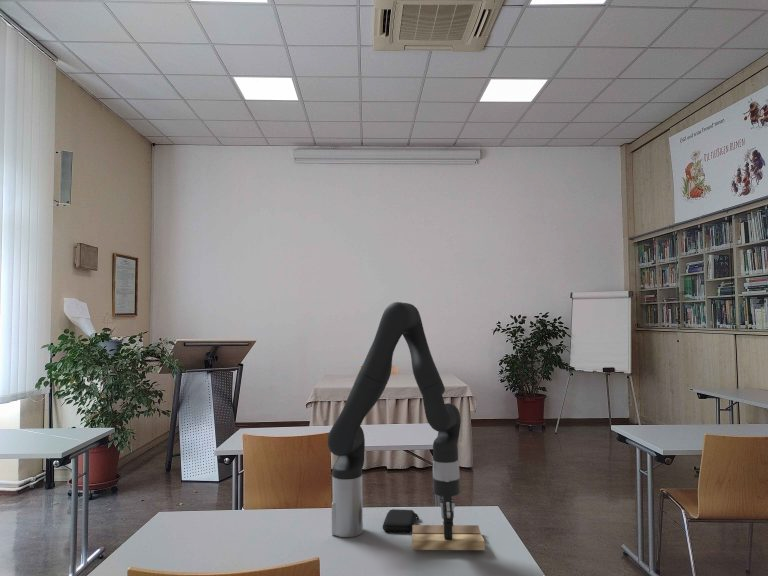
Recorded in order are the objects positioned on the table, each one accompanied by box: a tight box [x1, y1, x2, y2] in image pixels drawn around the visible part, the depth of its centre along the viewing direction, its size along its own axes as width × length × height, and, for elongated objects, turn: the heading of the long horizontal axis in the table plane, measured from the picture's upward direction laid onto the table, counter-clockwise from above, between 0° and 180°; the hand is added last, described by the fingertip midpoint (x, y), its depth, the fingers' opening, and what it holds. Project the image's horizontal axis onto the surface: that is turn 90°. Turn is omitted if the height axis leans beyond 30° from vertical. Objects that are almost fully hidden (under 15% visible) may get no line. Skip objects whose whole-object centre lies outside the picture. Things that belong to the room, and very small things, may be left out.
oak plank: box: [411, 534, 486, 551], centre depth 154 cm, size 20×8×2 cm, turn 87°
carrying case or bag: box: [382, 508, 420, 534], centre depth 172 cm, size 11×3×15 cm
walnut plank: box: [411, 524, 482, 535], centre depth 162 cm, size 20×6×2 cm, turn 87°
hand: (448, 538), depth 152 cm, fingers closed
